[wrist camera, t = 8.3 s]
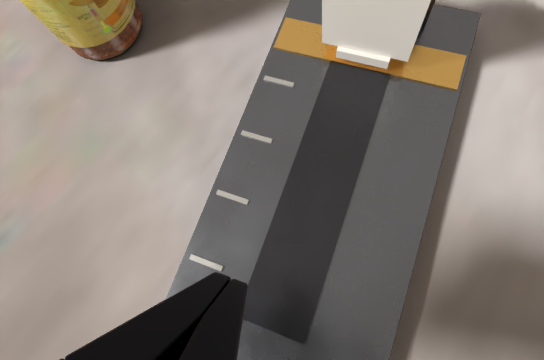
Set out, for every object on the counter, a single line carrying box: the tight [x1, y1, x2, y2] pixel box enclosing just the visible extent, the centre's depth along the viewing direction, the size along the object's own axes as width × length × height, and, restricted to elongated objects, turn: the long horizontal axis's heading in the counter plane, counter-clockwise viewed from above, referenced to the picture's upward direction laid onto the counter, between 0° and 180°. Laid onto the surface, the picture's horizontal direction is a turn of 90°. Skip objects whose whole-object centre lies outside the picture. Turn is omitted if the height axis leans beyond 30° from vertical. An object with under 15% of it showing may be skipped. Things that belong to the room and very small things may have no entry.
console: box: [166, 0, 481, 360], centre depth 20 cm, size 24×12×4 cm, turn 160°
